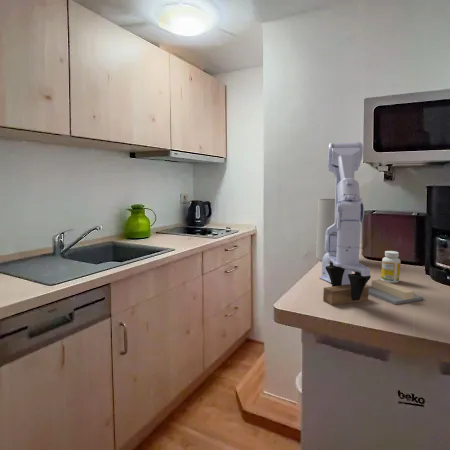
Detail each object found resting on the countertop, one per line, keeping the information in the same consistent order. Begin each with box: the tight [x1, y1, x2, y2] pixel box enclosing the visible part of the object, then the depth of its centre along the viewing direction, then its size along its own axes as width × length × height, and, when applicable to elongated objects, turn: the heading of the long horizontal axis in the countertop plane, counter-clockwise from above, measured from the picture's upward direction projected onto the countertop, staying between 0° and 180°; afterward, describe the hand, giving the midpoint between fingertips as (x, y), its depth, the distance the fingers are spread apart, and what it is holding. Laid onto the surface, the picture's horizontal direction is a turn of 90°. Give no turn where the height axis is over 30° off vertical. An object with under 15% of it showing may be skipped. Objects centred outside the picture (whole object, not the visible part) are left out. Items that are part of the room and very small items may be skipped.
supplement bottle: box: [380, 250, 401, 284], centre depth 109 cm, size 5×5×10 cm
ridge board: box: [368, 278, 424, 305], centre depth 95 cm, size 12×10×3 cm
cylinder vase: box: [315, 198, 337, 262], centre depth 138 cm, size 12×12×25 cm
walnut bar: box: [322, 284, 370, 306], centre depth 91 cm, size 4×12×4 cm, turn 110°
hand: (345, 295), depth 91 cm, fingers open, 7 cm apart
